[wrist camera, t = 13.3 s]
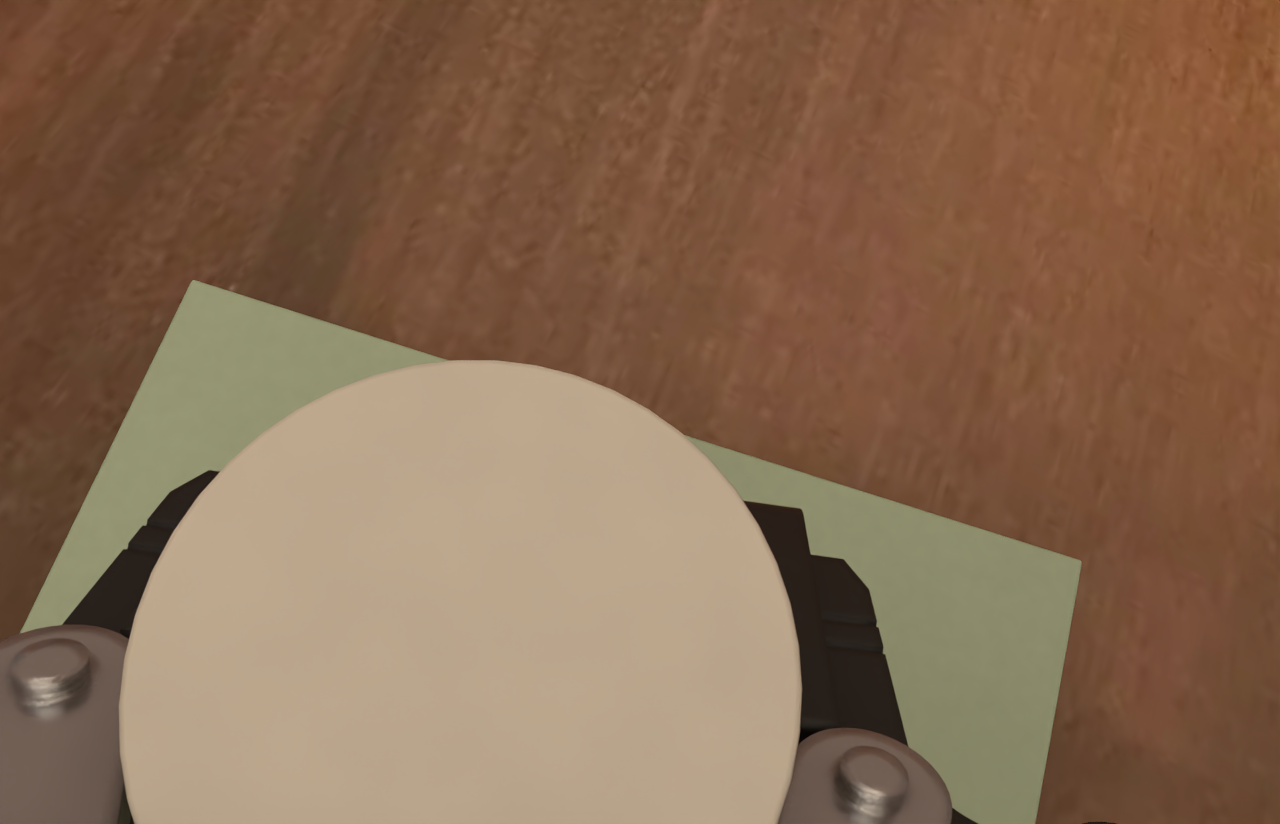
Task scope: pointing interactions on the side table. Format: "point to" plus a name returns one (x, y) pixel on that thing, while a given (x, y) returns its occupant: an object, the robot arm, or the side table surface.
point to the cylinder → (464, 620)
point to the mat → (834, 514)
